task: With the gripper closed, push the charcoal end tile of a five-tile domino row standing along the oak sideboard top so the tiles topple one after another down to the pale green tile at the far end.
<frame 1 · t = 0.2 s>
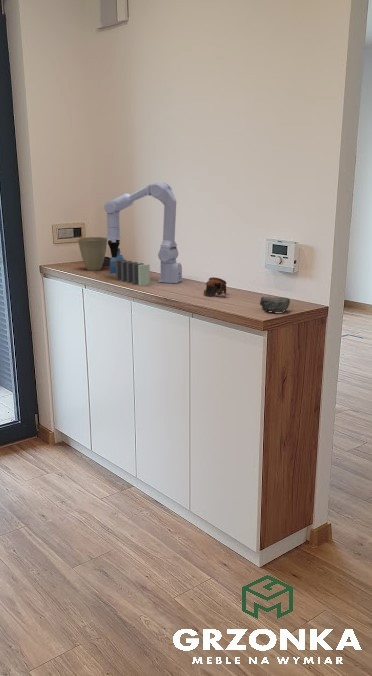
hand: (114, 256, 278), 10 cm above the table, tool pointing down, fingers open, 7 cm apart
perfume bottle: (117, 273, 296), on the table
domino 5: (144, 285, 262), on the table
domino 2: (126, 280, 273), on the table
plant pot: (93, 269, 305), on the table
rock: (272, 311, 213), on the table
brown irregular lump: (216, 295, 240), on the table
domino 4: (138, 283, 266), on the table
domino 3: (132, 282, 269), on the table
domino 1: (121, 279, 276), on the table
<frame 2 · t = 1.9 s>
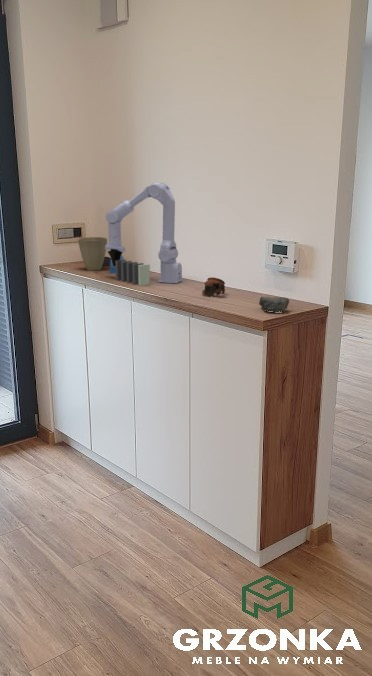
hand: (115, 265, 278), 6 cm above the table, tool pointing down, fingers closed
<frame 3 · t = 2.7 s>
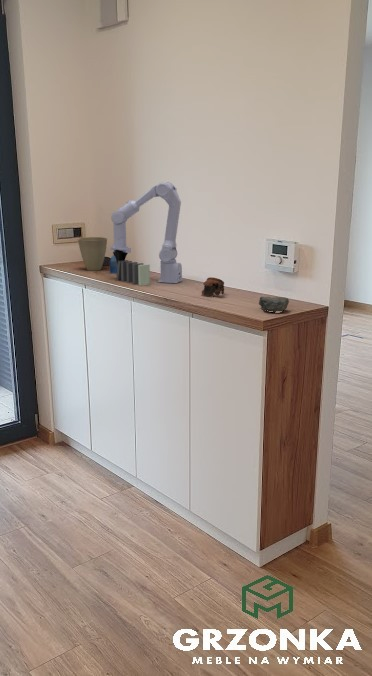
hand: (120, 266, 275), 6 cm above the table, tool pointing down, fingers closed
domino 1: (121, 279, 276), on the table, tilted 15°
everything else where it was.
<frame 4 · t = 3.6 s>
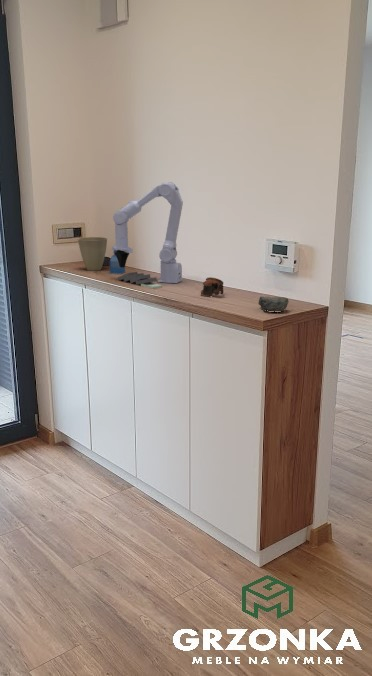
hand: (122, 267, 274), 6 cm above the table, tool pointing down, fingers closed
domino 5: (145, 284, 261), on the table, tilted 90°, touching domino 4
domino 2: (128, 279, 271), point 1 cm above the table, tilted 70°, touching domino 3
domino 4: (140, 282, 264), point 1 cm above the table, tilted 75°, touching domino 3, domino 5
domino 3: (134, 281, 268), point 1 cm above the table, tilted 70°, touching domino 2, domino 4
domino 1: (122, 278, 275), point 1 cm above the table, tilted 70°
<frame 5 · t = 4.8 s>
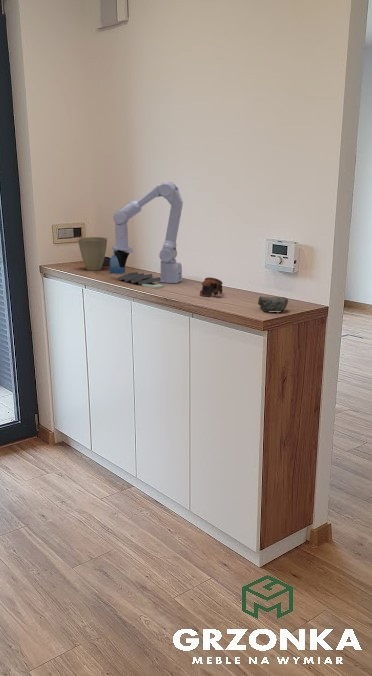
hand: (122, 267, 274), 6 cm above the table, tool pointing down, fingers closed
domino 5: (146, 285, 261), on the table, tilted 90°
domino 2: (129, 279, 271), point 1 cm above the table, tilted 70°, touching domino 1, domino 3
domino 4: (142, 282, 264), point 1 cm above the table, tilted 75°, touching domino 3
domino 3: (135, 281, 267), point 1 cm above the table, tilted 69°, touching domino 2, domino 4
domino 1: (123, 278, 275), point 1 cm above the table, tilted 71°, touching domino 2
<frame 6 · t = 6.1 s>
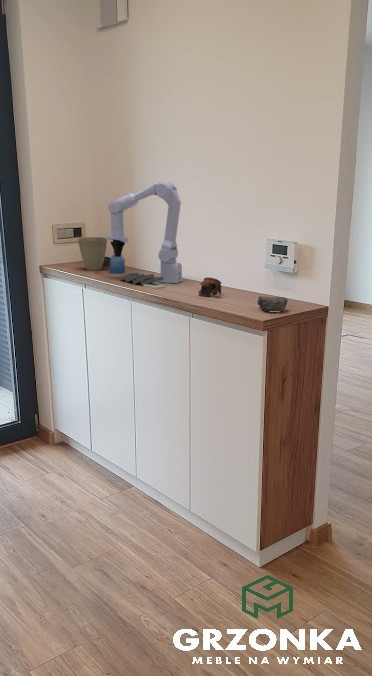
hand: (118, 256, 276), 10 cm above the table, tool pointing down, fingers closed
domino 5: (147, 285, 261), on the table, tilted 90°, touching domino 4
domino 4: (144, 282, 263), point 1 cm above the table, tilted 74°, touching domino 5
domino 3: (136, 281, 265), point 1 cm above the table, tilted 68°, touching domino 2
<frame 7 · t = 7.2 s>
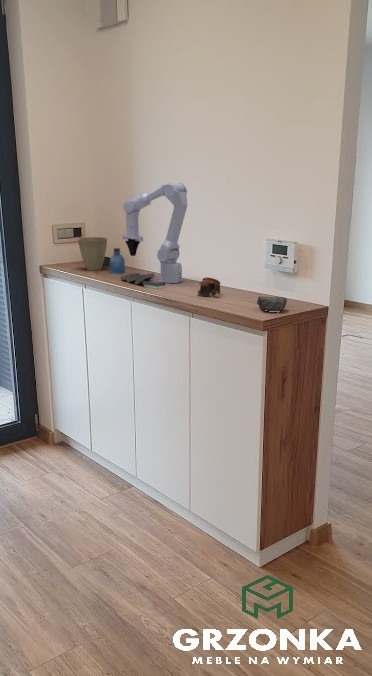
hand: (133, 255, 279), 10 cm above the table, tool pointing down, fingers closed
domino 2: (131, 280, 270), point 1 cm above the table, tilted 73°, touching domino 1
domino 4: (146, 281, 261), point 2 cm above the table, tilted 90°, touching domino 3, domino 5
domino 3: (139, 282, 264), point 1 cm above the table, tilted 63°, touching domino 4
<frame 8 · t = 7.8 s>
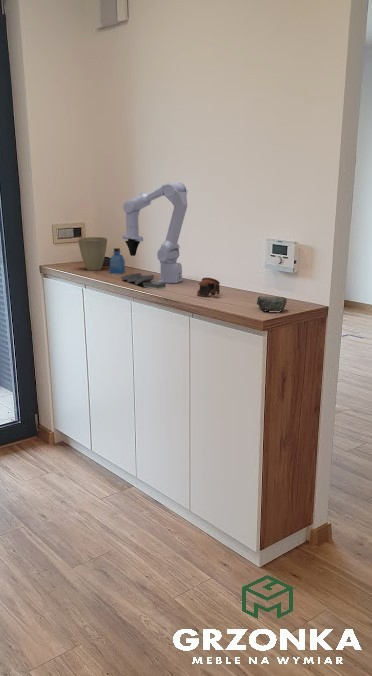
hand: (133, 255, 279), 10 cm above the table, tool pointing down, fingers closed
domino 2: (132, 280, 270), point 1 cm above the table, tilted 75°, touching domino 1, domino 3
domino 4: (147, 283, 259), point 1 cm above the table, tilted 90°, touching domino 5
domino 3: (140, 282, 263), point 1 cm above the table, tilted 67°, touching domino 2
at the end: domino 5 tilted 90°; domino 1 tilted 74°; domino 3 tilted 62° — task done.
